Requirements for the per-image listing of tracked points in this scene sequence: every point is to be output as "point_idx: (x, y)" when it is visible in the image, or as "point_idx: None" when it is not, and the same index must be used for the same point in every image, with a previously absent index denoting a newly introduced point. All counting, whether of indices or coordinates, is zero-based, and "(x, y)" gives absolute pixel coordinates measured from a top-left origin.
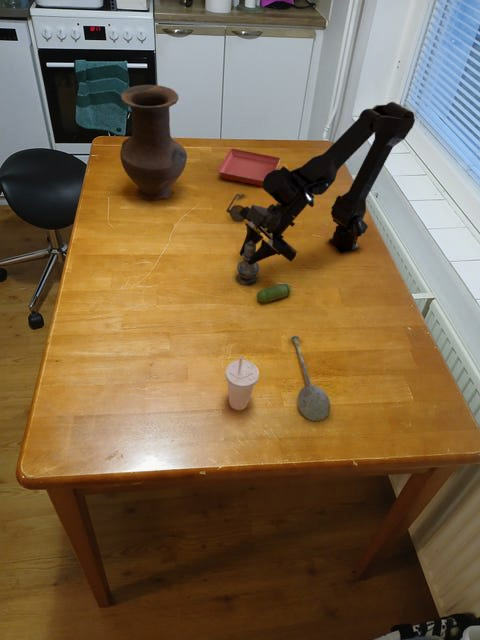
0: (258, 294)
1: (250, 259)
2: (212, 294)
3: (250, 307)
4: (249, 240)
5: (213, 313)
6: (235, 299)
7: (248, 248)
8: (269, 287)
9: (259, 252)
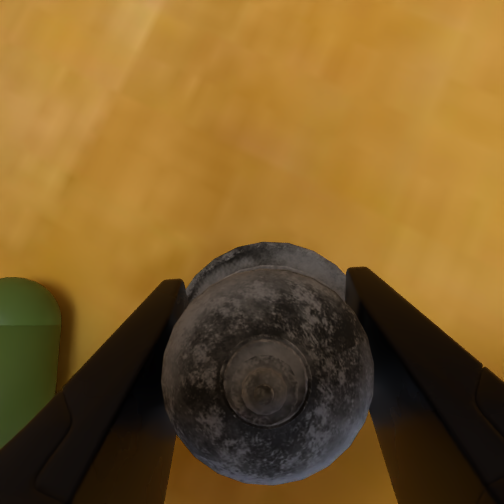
0: (6, 282)
1: (158, 304)
2: (220, 65)
3: (21, 221)
4: (439, 447)
5: (77, 10)
6: (122, 170)
7: (205, 293)
8: (9, 394)
9: (33, 430)
